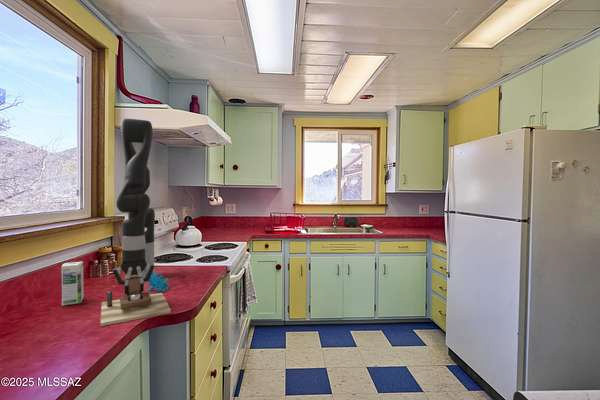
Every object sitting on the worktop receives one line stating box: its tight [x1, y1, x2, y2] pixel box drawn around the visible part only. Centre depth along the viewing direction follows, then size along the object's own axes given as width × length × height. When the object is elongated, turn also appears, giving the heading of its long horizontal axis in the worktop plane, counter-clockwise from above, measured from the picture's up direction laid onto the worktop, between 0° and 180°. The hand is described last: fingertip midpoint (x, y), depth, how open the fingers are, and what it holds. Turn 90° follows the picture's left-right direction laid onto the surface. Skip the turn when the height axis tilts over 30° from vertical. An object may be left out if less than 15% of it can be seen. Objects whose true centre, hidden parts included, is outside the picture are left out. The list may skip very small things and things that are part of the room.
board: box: [100, 292, 172, 327], centre depth 105 cm, size 20×20×1 cm
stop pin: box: [106, 290, 113, 307], centre depth 104 cm, size 2×2×5 cm
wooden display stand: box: [119, 275, 151, 310], centre depth 107 cm, size 14×9×8 cm, turn 33°
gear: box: [147, 272, 169, 293], centre depth 124 cm, size 11×6×10 cm
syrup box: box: [61, 261, 84, 306], centre depth 110 cm, size 6×6×14 cm
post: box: [130, 293, 140, 308], centre depth 105 cm, size 3×3×4 cm
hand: (134, 293), depth 110 cm, fingers closed on wooden display stand, 3 cm apart
